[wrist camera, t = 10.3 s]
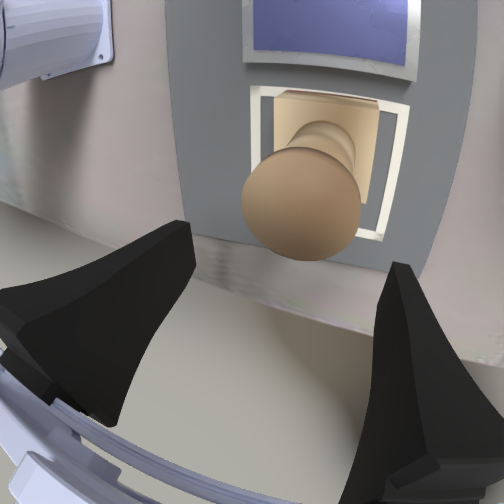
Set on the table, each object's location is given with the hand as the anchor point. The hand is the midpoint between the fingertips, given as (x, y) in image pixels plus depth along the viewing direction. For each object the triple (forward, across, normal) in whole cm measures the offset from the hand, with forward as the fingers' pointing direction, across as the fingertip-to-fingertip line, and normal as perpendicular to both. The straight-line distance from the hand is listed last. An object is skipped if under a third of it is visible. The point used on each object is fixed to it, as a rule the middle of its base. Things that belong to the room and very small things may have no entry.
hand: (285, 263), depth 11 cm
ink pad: (+10, 0, -10) cm, 14 cm away
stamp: (+9, 0, -2) cm, 10 cm away
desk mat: (+10, +1, -8) cm, 13 cm away
